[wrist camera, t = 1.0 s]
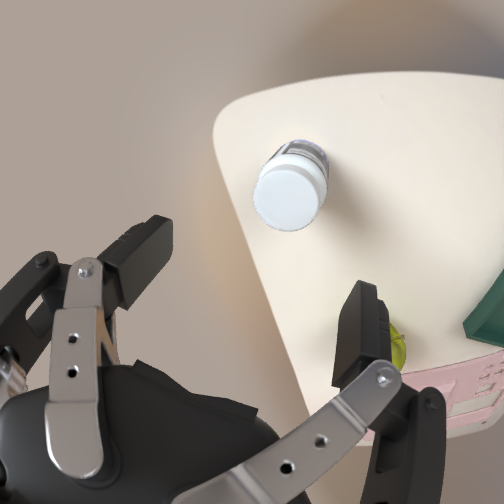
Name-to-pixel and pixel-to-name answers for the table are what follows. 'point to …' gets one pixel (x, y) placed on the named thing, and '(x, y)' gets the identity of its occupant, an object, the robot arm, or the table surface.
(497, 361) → the panel
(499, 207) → the table surface
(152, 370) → the robot arm
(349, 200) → the table surface
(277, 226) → the pill bottle
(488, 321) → the tray
